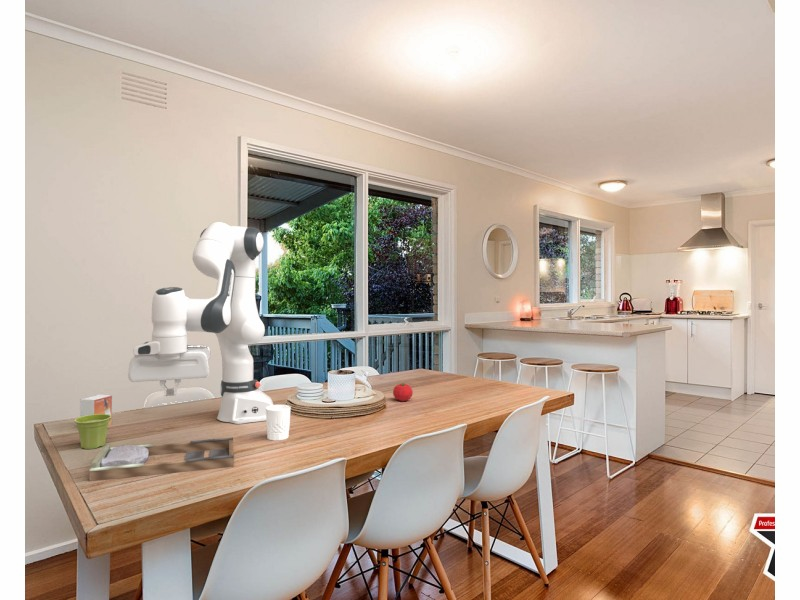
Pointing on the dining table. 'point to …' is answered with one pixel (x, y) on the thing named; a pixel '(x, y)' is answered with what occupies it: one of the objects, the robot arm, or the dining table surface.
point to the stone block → (125, 456)
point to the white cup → (278, 422)
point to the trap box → (189, 464)
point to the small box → (96, 406)
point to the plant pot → (92, 430)
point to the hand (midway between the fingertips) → (170, 395)
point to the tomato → (402, 392)
